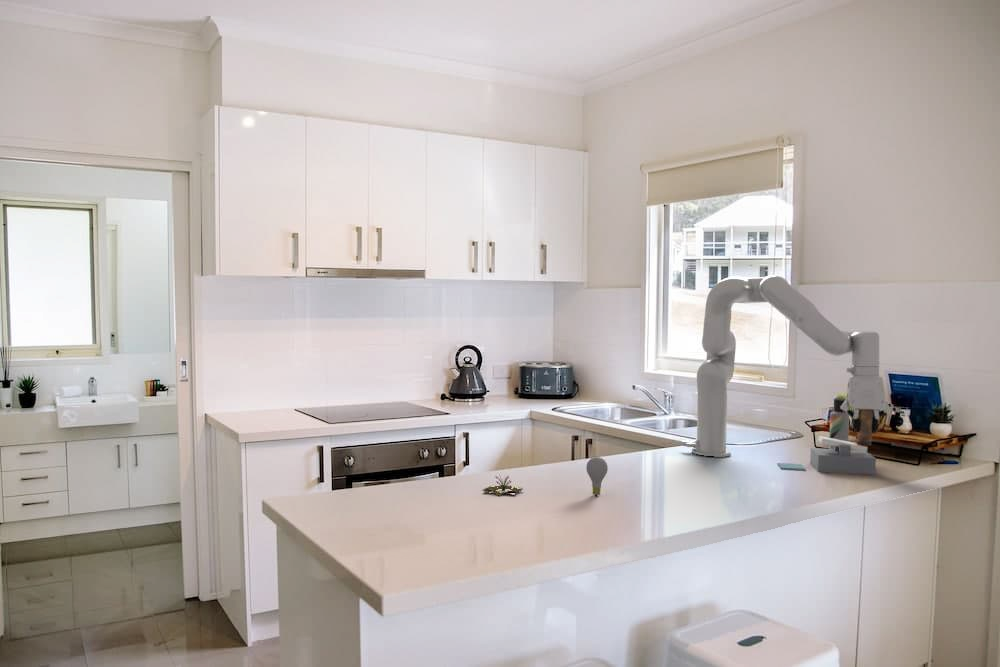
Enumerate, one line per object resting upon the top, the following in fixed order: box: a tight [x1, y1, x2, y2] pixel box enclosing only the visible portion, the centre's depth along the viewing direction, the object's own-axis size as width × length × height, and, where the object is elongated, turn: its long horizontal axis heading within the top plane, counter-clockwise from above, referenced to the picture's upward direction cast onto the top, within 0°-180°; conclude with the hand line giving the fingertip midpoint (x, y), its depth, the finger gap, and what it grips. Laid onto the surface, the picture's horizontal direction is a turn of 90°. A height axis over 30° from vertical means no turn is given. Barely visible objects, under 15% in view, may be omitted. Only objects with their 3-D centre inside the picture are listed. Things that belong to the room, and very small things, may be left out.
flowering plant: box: [482, 474, 522, 497], centre depth 197 cm, size 12×12×5 cm
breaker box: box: [809, 445, 877, 476], centre depth 231 cm, size 16×12×8 cm
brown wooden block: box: [856, 410, 873, 447], centre depth 229 cm, size 4×4×14 cm
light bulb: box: [585, 456, 609, 496], centre depth 194 cm, size 5×6×10 cm
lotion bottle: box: [828, 396, 850, 449], centre depth 248 cm, size 6×6×20 cm
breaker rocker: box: [818, 435, 869, 452], centre depth 231 cm, size 13×5×2 cm, turn 78°
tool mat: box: [777, 462, 806, 471], centre depth 232 cm, size 7×7×1 cm
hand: (865, 431), depth 229 cm, fingers closed on brown wooden block, 4 cm apart
